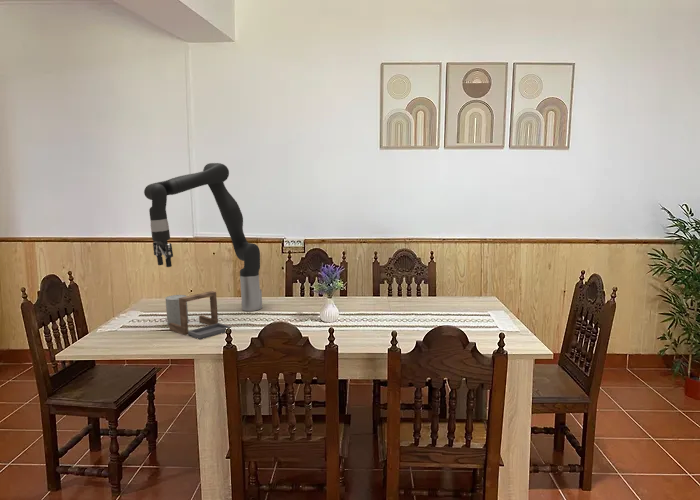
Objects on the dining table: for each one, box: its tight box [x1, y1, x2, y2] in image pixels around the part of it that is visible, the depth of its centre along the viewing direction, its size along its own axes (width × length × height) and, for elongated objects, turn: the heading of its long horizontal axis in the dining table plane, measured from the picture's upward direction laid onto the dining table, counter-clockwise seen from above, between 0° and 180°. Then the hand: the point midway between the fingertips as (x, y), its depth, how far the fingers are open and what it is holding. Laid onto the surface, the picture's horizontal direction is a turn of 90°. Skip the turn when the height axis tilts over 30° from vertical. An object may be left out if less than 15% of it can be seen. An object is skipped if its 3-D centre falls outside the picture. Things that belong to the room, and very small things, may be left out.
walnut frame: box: [168, 290, 219, 336], centre depth 280 cm, size 17×13×16 cm
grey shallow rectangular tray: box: [187, 322, 232, 340], centre depth 273 cm, size 16×9×2 cm, turn 136°
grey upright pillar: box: [164, 294, 190, 326], centre depth 290 cm, size 10×10×12 cm
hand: (164, 265), depth 277 cm, fingers open, 8 cm apart
